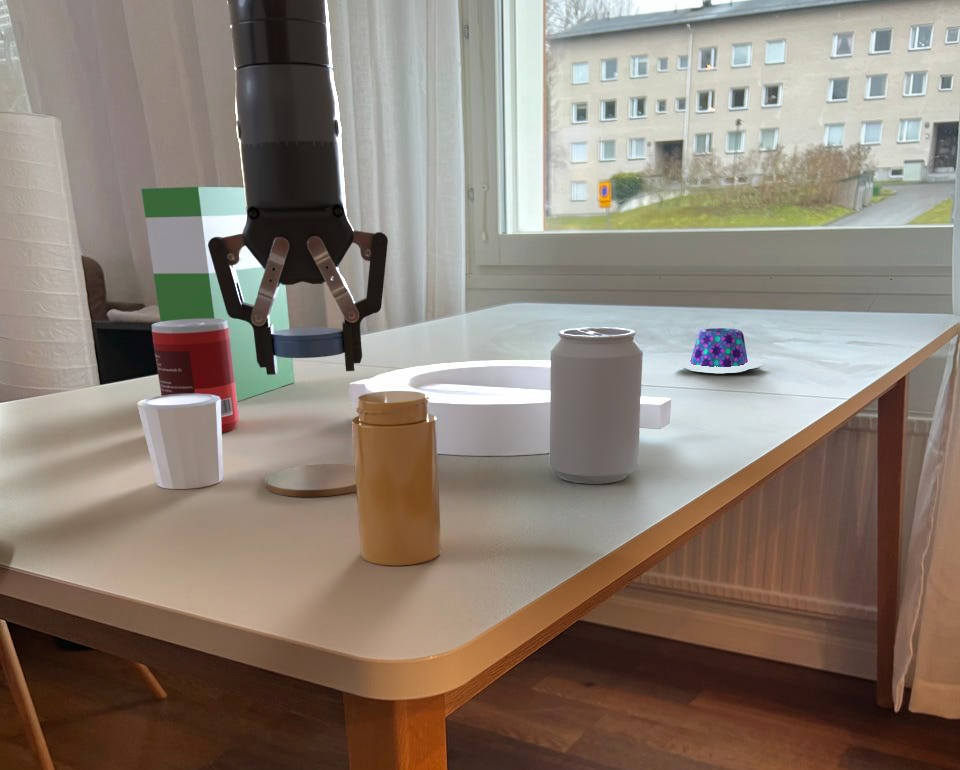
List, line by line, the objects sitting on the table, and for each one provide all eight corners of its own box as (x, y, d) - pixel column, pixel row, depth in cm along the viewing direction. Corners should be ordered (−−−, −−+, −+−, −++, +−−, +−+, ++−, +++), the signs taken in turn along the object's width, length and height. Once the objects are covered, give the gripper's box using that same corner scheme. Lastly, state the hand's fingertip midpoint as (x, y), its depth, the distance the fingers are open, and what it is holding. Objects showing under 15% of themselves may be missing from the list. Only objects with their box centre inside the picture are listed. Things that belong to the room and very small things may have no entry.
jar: (376, 570, 64) (365, 407, 60) (350, 547, 68) (338, 394, 64) (453, 557, 66) (448, 398, 62) (423, 536, 70) (416, 386, 66)
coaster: (266, 500, 80) (265, 493, 79) (266, 474, 88) (265, 467, 88) (378, 492, 81) (377, 485, 81) (367, 467, 89) (367, 460, 89)
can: (617, 490, 80) (623, 336, 75) (534, 480, 84) (534, 332, 79) (650, 469, 86) (657, 326, 81) (571, 461, 90) (573, 323, 85)
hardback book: (246, 380, 137) (224, 189, 127) (294, 382, 135) (276, 188, 125) (172, 403, 122) (141, 188, 112) (225, 405, 119) (198, 186, 110)
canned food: (245, 420, 111) (233, 317, 106) (233, 435, 103) (220, 325, 99) (175, 422, 110) (160, 319, 106) (159, 437, 103) (142, 327, 99)
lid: (346, 347, 83) (345, 326, 82) (345, 356, 78) (344, 333, 77) (276, 350, 82) (274, 328, 82) (270, 359, 77) (268, 336, 76)
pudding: (729, 379, 129) (732, 337, 127) (655, 370, 137) (657, 331, 135) (780, 368, 136) (784, 329, 134) (707, 361, 145) (710, 323, 142)
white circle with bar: (345, 412, 114) (342, 369, 112) (572, 394, 121) (572, 354, 119) (402, 467, 89) (400, 413, 87) (682, 440, 97) (685, 390, 95)
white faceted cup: (182, 495, 82) (170, 409, 79) (132, 483, 86) (119, 401, 83) (246, 477, 87) (237, 396, 84) (197, 467, 91) (186, 389, 88)
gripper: (386, 141, 78) (398, 362, 85) (199, 145, 77) (227, 369, 83) (388, 134, 71) (401, 375, 78) (183, 138, 70) (215, 382, 77)
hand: (311, 370), depth 81 cm, fingers closed on lid, 5 cm apart
